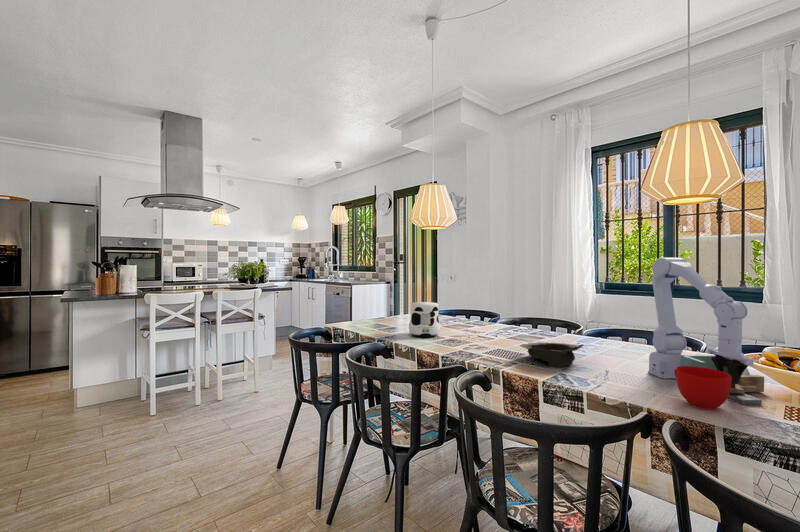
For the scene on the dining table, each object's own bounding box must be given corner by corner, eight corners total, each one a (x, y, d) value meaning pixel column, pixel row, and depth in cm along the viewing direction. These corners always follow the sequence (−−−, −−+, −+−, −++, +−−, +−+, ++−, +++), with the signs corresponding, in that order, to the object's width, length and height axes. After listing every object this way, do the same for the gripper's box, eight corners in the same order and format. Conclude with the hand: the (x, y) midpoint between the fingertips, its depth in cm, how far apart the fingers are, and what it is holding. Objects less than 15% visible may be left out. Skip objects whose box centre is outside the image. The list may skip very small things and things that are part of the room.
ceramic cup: (694, 393, 124) (695, 362, 124) (743, 414, 107) (744, 379, 107) (656, 393, 123) (656, 362, 123) (698, 414, 107) (699, 379, 106)
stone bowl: (575, 373, 143) (574, 349, 144) (511, 367, 158) (510, 344, 159) (589, 359, 163) (587, 337, 163) (531, 354, 178) (529, 334, 178)
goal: (700, 381, 135) (701, 362, 135) (679, 373, 145) (680, 354, 145) (742, 381, 136) (742, 362, 136) (718, 373, 146) (719, 355, 146)
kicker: (730, 397, 119) (731, 370, 119) (711, 389, 126) (712, 364, 126) (779, 397, 119) (780, 370, 119) (758, 390, 126) (758, 364, 126)
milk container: (424, 331, 225) (425, 301, 225) (446, 336, 212) (446, 303, 212) (402, 335, 214) (402, 303, 214) (423, 340, 201) (423, 306, 201)
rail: (741, 404, 114) (742, 399, 114) (693, 384, 132) (693, 380, 132) (761, 404, 114) (761, 400, 114) (710, 384, 132) (710, 380, 132)
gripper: (764, 344, 114) (762, 389, 115) (722, 334, 129) (721, 374, 129) (740, 344, 114) (739, 389, 115) (702, 334, 129) (701, 374, 129)
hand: (728, 381), depth 122 cm, fingers open, 3 cm apart
